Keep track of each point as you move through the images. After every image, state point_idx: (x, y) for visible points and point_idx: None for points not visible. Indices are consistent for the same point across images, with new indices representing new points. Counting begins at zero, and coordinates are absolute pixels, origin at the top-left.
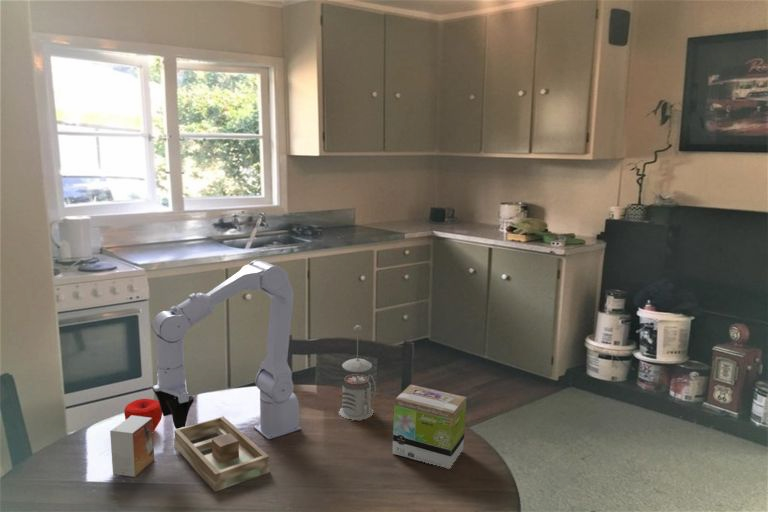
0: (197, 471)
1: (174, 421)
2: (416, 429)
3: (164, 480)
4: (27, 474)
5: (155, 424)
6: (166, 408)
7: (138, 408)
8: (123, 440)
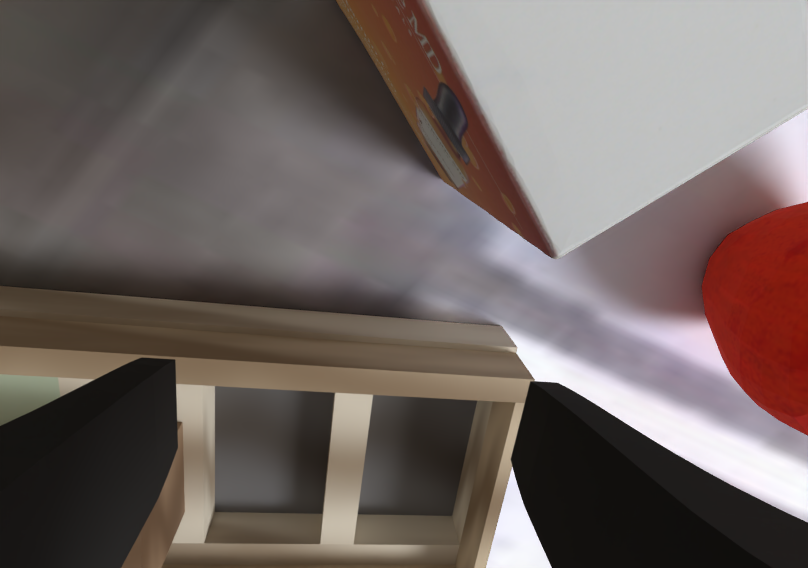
0: (147, 299)
1: (51, 402)
2: None
3: (175, 114)
4: None
5: (717, 331)
6: (562, 465)
7: None
8: None
